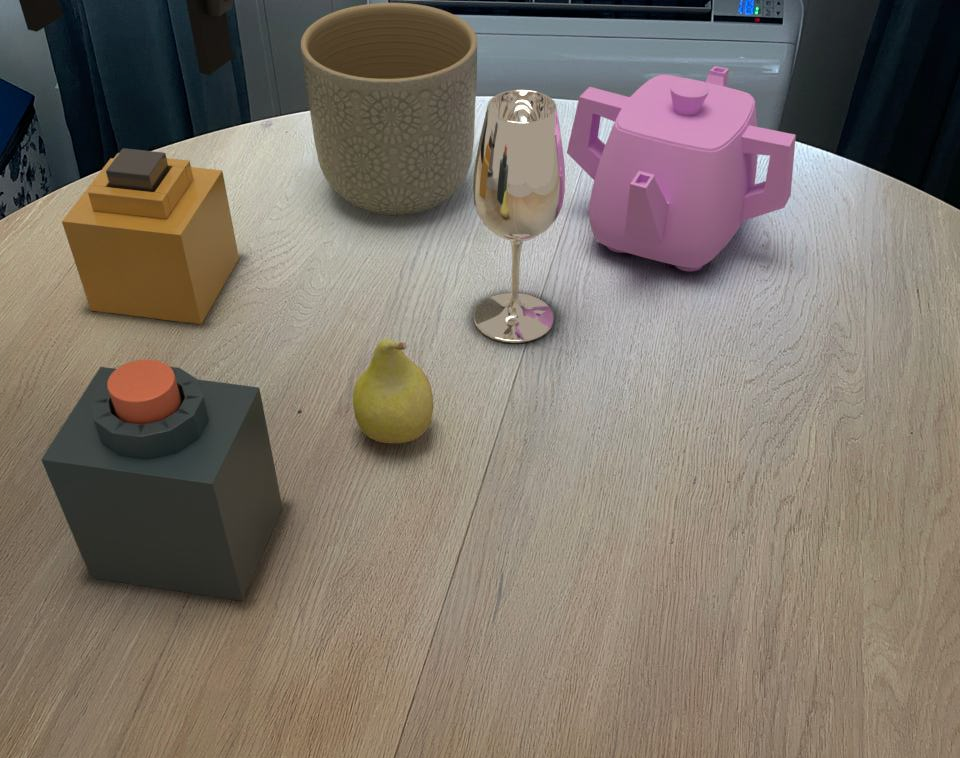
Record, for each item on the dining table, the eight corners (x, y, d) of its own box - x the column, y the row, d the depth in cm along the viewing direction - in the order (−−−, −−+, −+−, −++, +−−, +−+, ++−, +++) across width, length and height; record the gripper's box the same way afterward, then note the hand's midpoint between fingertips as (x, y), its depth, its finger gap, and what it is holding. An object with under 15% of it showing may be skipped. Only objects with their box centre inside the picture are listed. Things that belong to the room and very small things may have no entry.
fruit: (418, 399, 94) (412, 279, 85) (449, 453, 90) (447, 333, 80) (345, 418, 92) (331, 297, 83) (374, 474, 88) (363, 354, 79)
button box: (90, 577, 81) (30, 436, 70) (140, 486, 87) (92, 343, 76) (242, 601, 80) (206, 461, 69) (282, 507, 86) (255, 364, 75)
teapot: (704, 174, 118) (730, 27, 106) (794, 263, 107) (834, 111, 95) (543, 209, 113) (552, 60, 101) (621, 305, 103) (641, 152, 91)
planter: (308, 232, 110) (288, 78, 98) (328, 148, 120) (312, -1, 108) (473, 236, 110) (473, 82, 98) (479, 152, 120) (480, 3, 108)
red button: (104, 421, 72) (96, 396, 70) (129, 379, 74) (122, 355, 73) (167, 429, 71) (160, 405, 70) (190, 387, 74) (184, 363, 72)
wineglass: (455, 317, 101) (452, 103, 86) (515, 284, 105) (523, 73, 89) (511, 356, 98) (520, 140, 82) (572, 321, 101) (591, 108, 85)
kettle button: (110, 189, 95) (105, 170, 94) (127, 166, 97) (122, 147, 96) (153, 194, 95) (148, 175, 93) (169, 171, 97) (165, 152, 96)
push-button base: (90, 310, 102) (55, 202, 93) (134, 246, 108) (105, 139, 100) (201, 324, 100) (176, 215, 92) (239, 258, 107) (218, 151, 98)
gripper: (278, -396, 52) (324, 59, 69) (-113, -441, 58) (16, -15, 75) (188, -367, 48) (260, 110, 65) (-223, -419, 54) (-60, 27, 71)
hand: (129, 44), depth 70 cm, fingers open, 13 cm apart
